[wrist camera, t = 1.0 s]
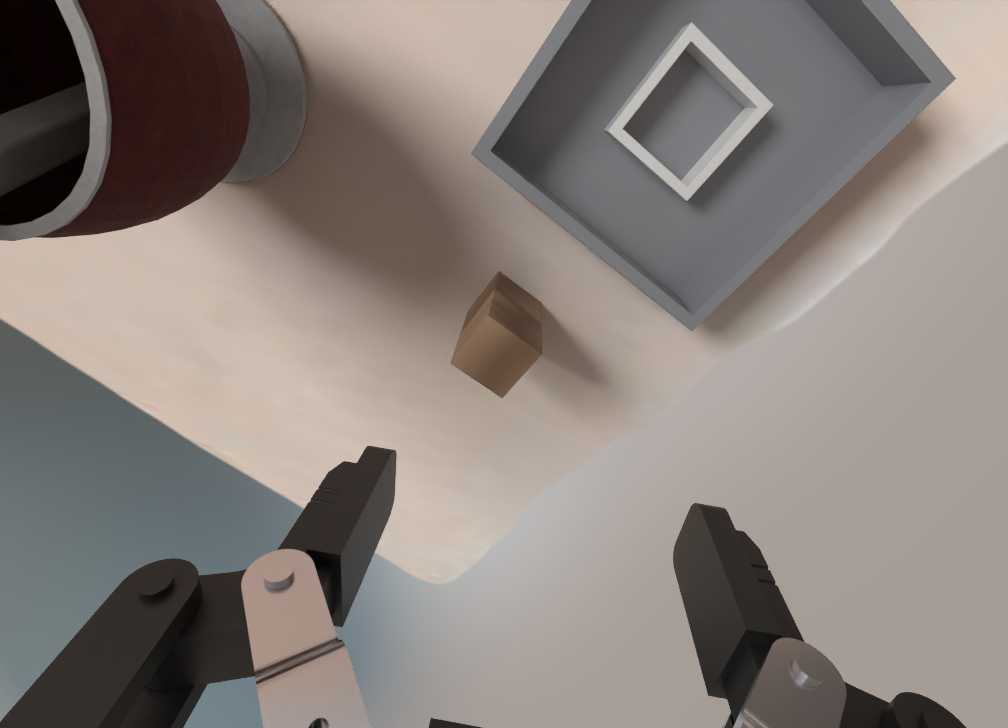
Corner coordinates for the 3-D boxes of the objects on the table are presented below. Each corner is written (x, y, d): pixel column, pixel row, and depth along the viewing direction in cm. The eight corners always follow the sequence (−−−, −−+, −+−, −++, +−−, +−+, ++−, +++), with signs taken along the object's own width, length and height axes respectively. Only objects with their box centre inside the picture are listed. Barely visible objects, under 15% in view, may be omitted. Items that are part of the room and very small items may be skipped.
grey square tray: (480, 148, 32) (470, 153, 28) (679, -154, 25) (710, -212, 21) (673, 305, 36) (692, 331, 32) (892, 84, 29) (955, 78, 25)
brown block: (468, 310, 38) (450, 363, 30) (498, 271, 36) (488, 315, 28) (509, 339, 39) (502, 398, 31) (540, 302, 37) (541, 353, 29)
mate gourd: (98, -95, 28) (-690, -473, 10) (335, -4, 29) (14, -192, 11) (112, 177, 35) (-334, 242, 17) (302, 241, 36) (73, 364, 18)
